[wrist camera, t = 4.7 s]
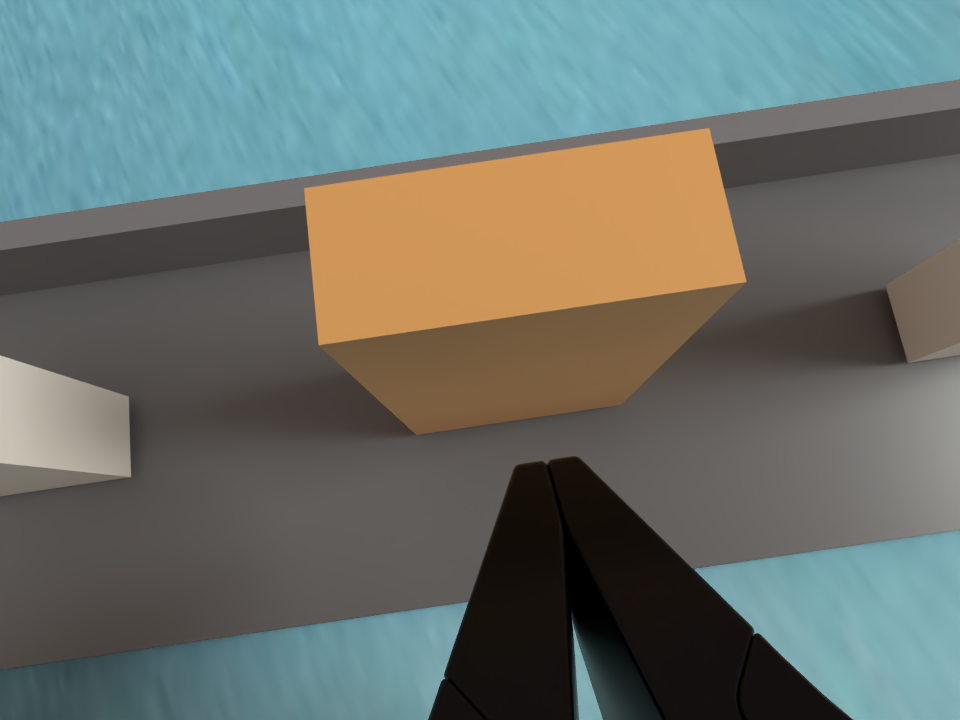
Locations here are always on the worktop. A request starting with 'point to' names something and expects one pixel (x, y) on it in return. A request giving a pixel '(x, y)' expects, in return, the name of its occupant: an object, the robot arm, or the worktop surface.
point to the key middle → (522, 277)
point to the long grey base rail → (481, 449)
